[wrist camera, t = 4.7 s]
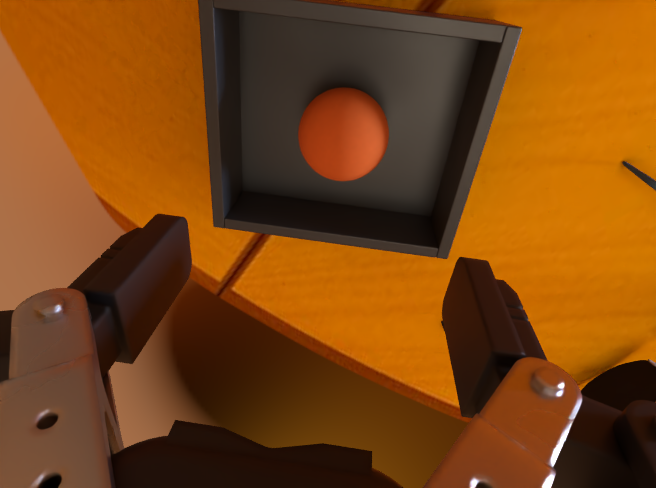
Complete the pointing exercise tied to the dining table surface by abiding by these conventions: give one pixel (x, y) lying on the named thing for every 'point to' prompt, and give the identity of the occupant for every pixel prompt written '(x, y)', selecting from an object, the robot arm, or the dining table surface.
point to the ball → (343, 134)
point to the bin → (362, 74)
